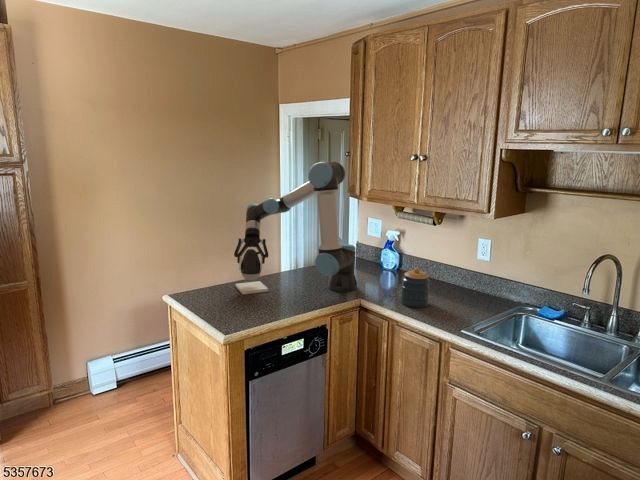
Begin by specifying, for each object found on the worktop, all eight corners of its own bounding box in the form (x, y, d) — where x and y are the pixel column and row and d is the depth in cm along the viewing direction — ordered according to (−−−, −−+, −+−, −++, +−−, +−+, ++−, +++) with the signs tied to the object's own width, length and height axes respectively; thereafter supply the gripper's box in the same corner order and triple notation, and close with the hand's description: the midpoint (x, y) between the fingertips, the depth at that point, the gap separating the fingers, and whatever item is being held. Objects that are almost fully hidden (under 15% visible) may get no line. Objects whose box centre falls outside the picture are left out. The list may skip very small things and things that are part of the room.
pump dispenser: (259, 281, 217) (260, 251, 214) (238, 281, 218) (238, 251, 214) (262, 275, 227) (263, 247, 224) (242, 275, 227) (242, 246, 224)
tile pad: (268, 291, 220) (268, 288, 220) (242, 294, 215) (242, 291, 215) (260, 283, 232) (260, 281, 232) (235, 286, 226) (235, 283, 226)
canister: (411, 309, 202) (414, 272, 198) (394, 300, 214) (397, 265, 210) (433, 306, 208) (437, 270, 204) (416, 297, 219) (419, 263, 215)
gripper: (274, 235, 234) (273, 272, 222) (231, 234, 232) (228, 272, 220) (274, 227, 228) (273, 265, 216) (230, 226, 226) (227, 264, 214)
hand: (250, 268), depth 218 cm, fingers closed on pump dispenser, 10 cm apart
